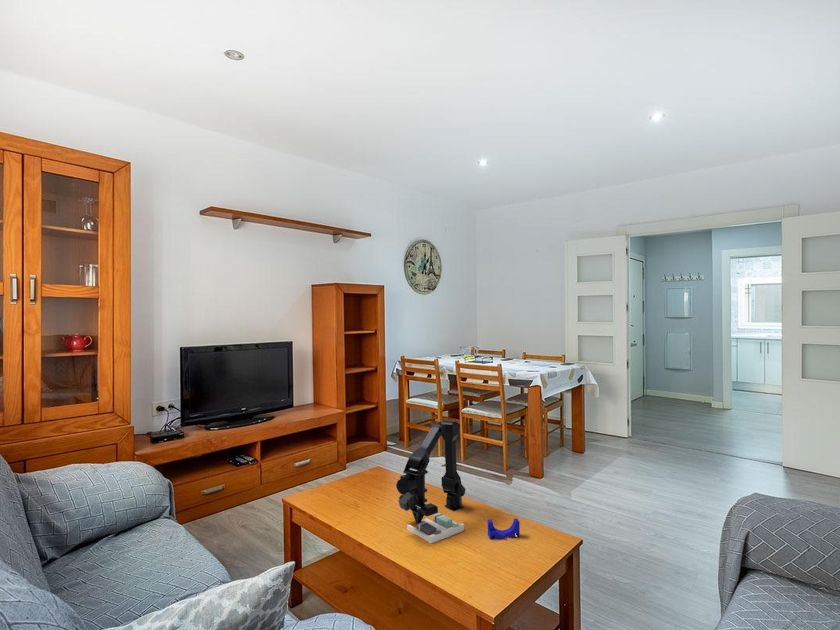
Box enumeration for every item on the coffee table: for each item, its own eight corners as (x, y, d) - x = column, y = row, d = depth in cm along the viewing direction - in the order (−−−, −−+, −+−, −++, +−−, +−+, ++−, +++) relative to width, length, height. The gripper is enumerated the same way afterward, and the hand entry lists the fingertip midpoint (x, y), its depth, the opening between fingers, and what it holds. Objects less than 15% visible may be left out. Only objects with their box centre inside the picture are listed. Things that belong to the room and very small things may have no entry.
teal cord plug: (439, 521, 198) (439, 512, 198) (452, 528, 192) (452, 519, 192) (433, 523, 196) (433, 515, 196) (445, 530, 189) (445, 521, 189)
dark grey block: (424, 529, 191) (424, 520, 191) (436, 536, 184) (436, 527, 184) (417, 532, 188) (416, 523, 188) (429, 539, 182) (429, 530, 182)
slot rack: (439, 517, 201) (439, 510, 201) (464, 530, 189) (464, 522, 189) (406, 529, 191) (406, 521, 191) (431, 543, 179) (431, 535, 179)
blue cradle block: (489, 539, 182) (489, 524, 182) (487, 534, 186) (487, 519, 186) (520, 538, 182) (520, 523, 182) (517, 533, 187) (517, 518, 187)
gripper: (388, 484, 193) (388, 522, 193) (416, 498, 179) (416, 539, 179) (409, 478, 200) (410, 515, 200) (438, 491, 186) (438, 531, 186)
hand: (418, 525), depth 191 cm, fingers closed
